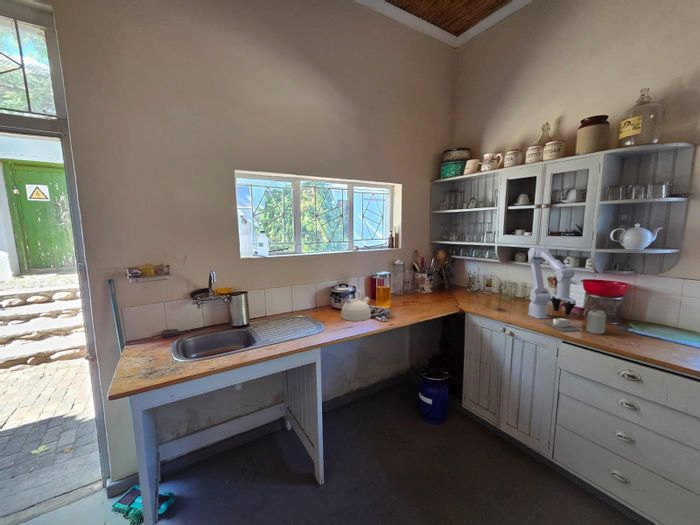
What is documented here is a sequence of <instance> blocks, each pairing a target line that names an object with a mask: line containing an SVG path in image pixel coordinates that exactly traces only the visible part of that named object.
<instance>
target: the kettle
mask: <svg viewBox="0 0 700 525" xmlns="http://www.w3.org/2000/svg"><path fill="white" fill-rule="evenodd" d="M357 292H358V293H359V294H360V297H361V298H352V299H349V300H347V302H345V303H344V304H343V306H342V308H341V312H340V313H341V315H340V317H341V319H343V320H346V321H350V322H361V321H366V320H369V319H371V317H372V313H371V312H372V310H371V308H370V305H369V304H368V303H369V302H370V301H371V298H370V297H369V296H365V295H364V293H363V292H362V291H361V290H360V289H354V290H351V291H347V292H345V293H344V294H343V295H342V296H341V297H340V298H341V299H345V298H346V297H347V296H348V295H350V294H352V293H357Z"/></svg>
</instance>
